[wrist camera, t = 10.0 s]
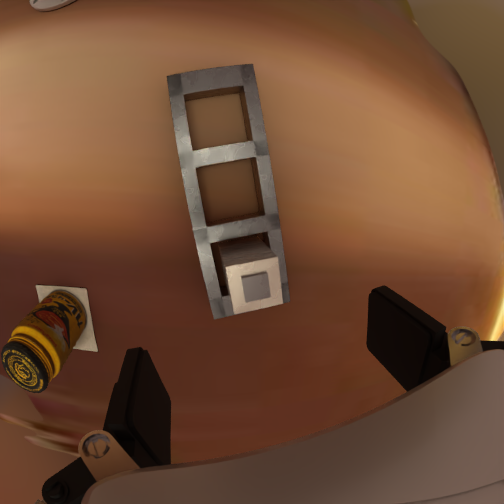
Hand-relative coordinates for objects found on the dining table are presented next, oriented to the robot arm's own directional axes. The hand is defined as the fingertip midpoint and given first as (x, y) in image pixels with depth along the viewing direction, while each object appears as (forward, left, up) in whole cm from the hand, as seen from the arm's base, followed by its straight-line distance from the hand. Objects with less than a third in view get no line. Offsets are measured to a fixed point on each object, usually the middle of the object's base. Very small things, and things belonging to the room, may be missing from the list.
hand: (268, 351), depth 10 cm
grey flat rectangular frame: (-5, +1, -19) cm, 19 cm away
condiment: (+5, -21, -19) cm, 28 cm away
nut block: (+2, +1, -19) cm, 19 cm away
